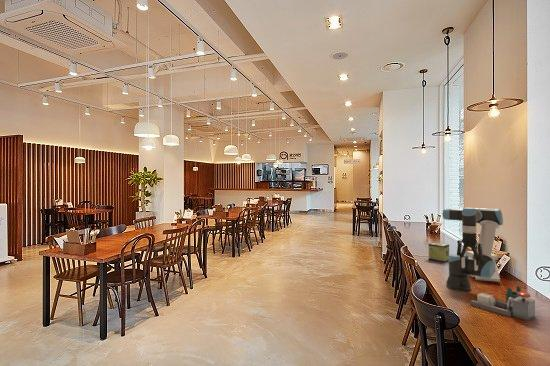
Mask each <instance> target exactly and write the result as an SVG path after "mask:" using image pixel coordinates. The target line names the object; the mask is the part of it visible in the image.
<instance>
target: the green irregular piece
mask: <svg viewBox="0 0 550 366" xmlns="http://www.w3.org/2000/svg"><path fill="white" fill-rule="evenodd" d="M506 290H507V291H505V301H506V302H507V301H508V298H509V297H512V298H514V299H515V298H517V297H519V296H518V295H517V292H522V287H521V286H520V285H517V286H516V291H514V290H513V288H511V287H508V288H507V289H506Z"/></svg>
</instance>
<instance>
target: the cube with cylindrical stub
mask: <svg viewBox="0 0 550 366" xmlns="http://www.w3.org/2000/svg"><path fill="white" fill-rule="evenodd" d="M476 297H477V299H476V301H477V302H481V303H484V304H488V305H491V306H495V307H496V305H495V302H496V301H495V300H496V298H495V297H494V295H492V294H488V293H485V292H481V293H478V294H477V295H476Z"/></svg>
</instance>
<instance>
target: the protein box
mask: <svg viewBox="0 0 550 366" xmlns="http://www.w3.org/2000/svg"><path fill="white" fill-rule="evenodd" d="M449 256H450V244H447V243H438V242H430V243H428V260H429V261H434V262H440V263H447V262H448V263H449Z"/></svg>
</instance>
